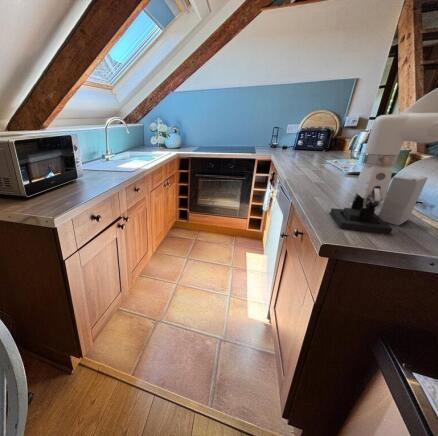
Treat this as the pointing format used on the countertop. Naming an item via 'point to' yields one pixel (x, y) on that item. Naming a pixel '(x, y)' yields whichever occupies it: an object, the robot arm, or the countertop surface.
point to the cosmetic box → (401, 198)
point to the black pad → (354, 213)
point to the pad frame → (360, 223)
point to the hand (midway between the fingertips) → (360, 215)
